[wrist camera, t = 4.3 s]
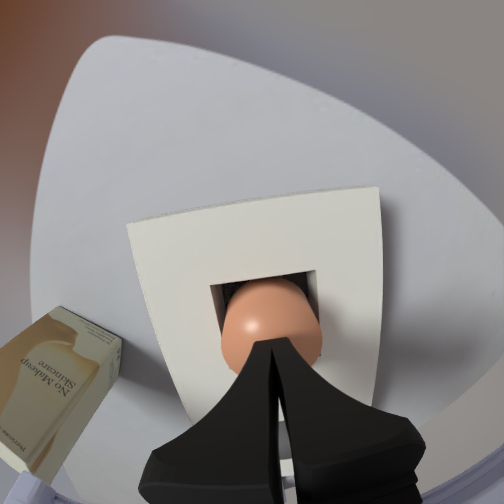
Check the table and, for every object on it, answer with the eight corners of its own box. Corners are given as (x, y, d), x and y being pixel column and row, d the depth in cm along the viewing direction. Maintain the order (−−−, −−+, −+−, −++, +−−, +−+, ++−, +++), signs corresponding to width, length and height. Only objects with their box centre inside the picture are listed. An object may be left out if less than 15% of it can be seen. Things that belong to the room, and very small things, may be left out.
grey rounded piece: (311, 427, 18) (317, 454, 16) (258, 434, 19) (259, 462, 16) (310, 392, 17) (318, 421, 14) (250, 401, 18) (249, 431, 15)
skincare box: (124, 336, 17) (32, 469, 5) (119, 377, 18) (52, 496, 6) (55, 301, 16) (-54, 387, 4) (56, 344, 17) (-28, 432, 5)
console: (350, 438, 20) (358, 461, 17) (223, 455, 20) (221, 479, 17) (355, 185, 14) (378, 186, 12) (148, 217, 15) (126, 224, 12)
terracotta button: (312, 343, 15) (323, 375, 12) (234, 354, 15) (231, 388, 12) (306, 270, 14) (320, 292, 11) (219, 282, 14) (211, 308, 11)
